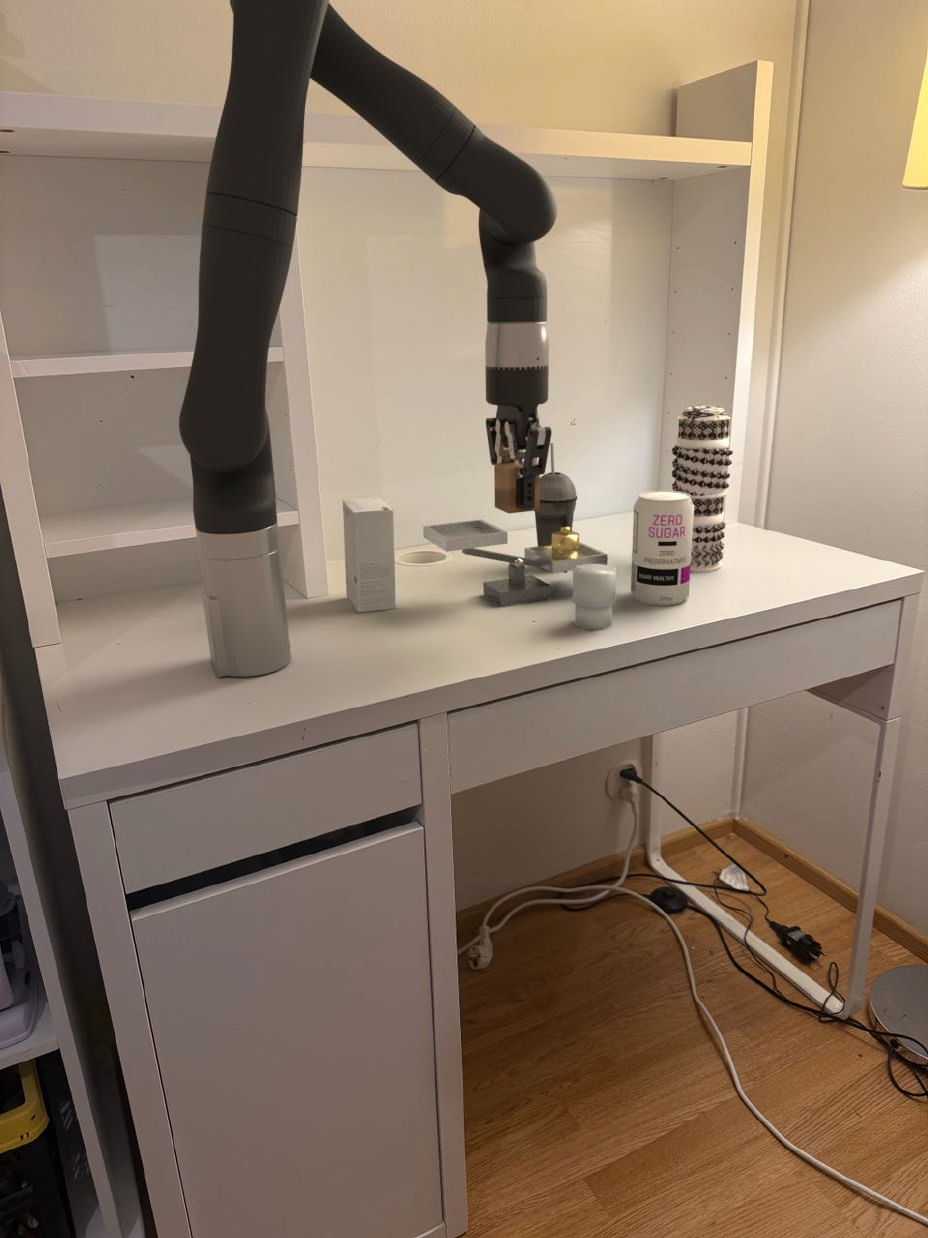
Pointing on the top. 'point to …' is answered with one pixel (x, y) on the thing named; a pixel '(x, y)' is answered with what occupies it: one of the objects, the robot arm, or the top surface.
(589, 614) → the white stepped cylinder
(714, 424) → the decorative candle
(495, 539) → the balance
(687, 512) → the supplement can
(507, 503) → the walnut block
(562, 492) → the beverage cup
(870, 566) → the top surface
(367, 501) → the skincare box
